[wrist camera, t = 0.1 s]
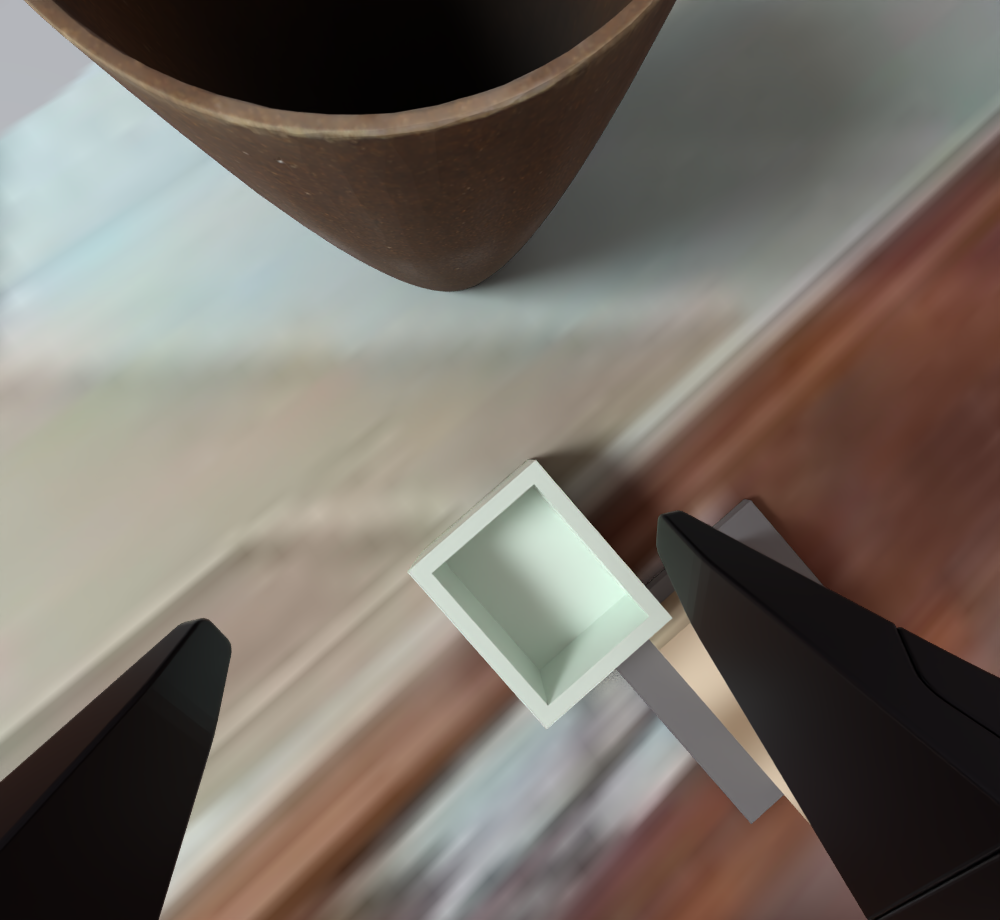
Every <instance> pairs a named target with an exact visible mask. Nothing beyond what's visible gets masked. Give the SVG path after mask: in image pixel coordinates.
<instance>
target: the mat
mask: <svg viewBox="0 0 1000 920" xmlns="http://www.w3.org/2000/svg"><path fill="white" fill-rule="evenodd" d="M713 528H715V529H717V530H719V531H721V532H723V533H725V534H726V535H728V536H730V537H732V538H734V539H736V540H738V541H740V542H741V543H743V544H745V545H747V546H749V547H751V548H753V549H755V550H757V551H758V552H760V553H762V554H764V555H766V556H768V557H770V558H772V559H773V560H775V561H777V562H779V563H781V564H783V565H785V566H787V567H789V568H790V569H792V570H794V571H796V572H798V573H800V574H802V575H804V576H805V577H807V578H809V579H811V580H813V581H815V582H817V583H819V584H820V585H822V583H821V582H820V581H819V580H818V579H817V578H816V576H815V575H814V574H813V573H812V572H811V570H810V569H809V568H808V567H807V566H806V565H805V563H804V562H803V561H802V560H801V559H800V558H799V556H798V555H797V554H796V553H795V552H794V551H793V549H792V548H791V547H790V546H789V545H788V543H787V542H786V541H785V540H784V539H783V538H782V536H781V535H780V534H779V533H778V532H777V531H776V529H775V528H774V527H773V526H772V525H771V524H770V522H769V521H768V520H767V519H766V518H765V516H764V515H763V514H762V513H761V512H760V511H759V509H758V508H757V507H756V506H755V505H754V504H753V502H752V501H751V500H746V499H744V500H743V501H741V502H740V503H739V504H738V505H737V506H736V507H735V508H734V509H732V510H731V511H730V512H729V513H728V514H727V515H726V516H724V517H723V518H722V519H721V520H720V521H719V522H718V523H717V524H715V525H714V526H713ZM822 586H823V585H822ZM645 587H646V588H647V589H648V590H649V591H650V593H651V594H652V595H653V596H654V597H655V598H656V599H657V601H658V602H659V603H661V602H663V601H664V600H665V599H666V598H667V597H668V596H669V595H671V594H672V593H673V592H674V591H675V589H674V586H673V584H672V582H671V580H670V578H669V576H668V573H667V571H666V569H664V570H663V571H662V572H661V573H660V574H659V575H658V576H656V577H655V578H654V579H653V580H652V581H651V582H650V583H648V584H647V585H646V586H645ZM616 669H617V671H618V672H619V673H620V674H621V675H622V676H623V677H624V679H625V680H626V681H627V682H628V683H629V684H630V685H631V687H632V688H633V689H634V690H635V691H636V692H637V693H638V695H639V696H640V697H641V698H642V699H643V700H644V702H645V703H646V704H647V705H648V706H649V707H650V708H651V710H652V711H653V712H654V713H655V714H656V715H657V716H658V718H659V719H660V720H661V721H662V722H663V723H664V724H665V726H666V727H667V728H668V729H669V730H670V731H671V732H672V734H673V735H674V736H675V737H676V738H677V739H678V740H679V742H680V743H681V744H682V745H683V746H684V747H685V748H686V750H687V751H688V752H689V753H690V754H691V755H692V757H693V758H694V759H695V760H696V761H697V762H698V763H699V765H700V766H701V767H702V768H703V769H704V770H705V771H706V773H707V774H708V775H709V776H710V777H711V778H712V779H713V781H714V782H715V783H716V784H717V785H718V786H719V787H720V789H721V790H722V791H723V792H724V793H725V794H726V795H727V797H728V798H729V799H730V800H731V801H732V802H733V803H734V805H735V806H736V807H737V808H738V809H739V810H740V812H741V813H742V814H743V815H744V816H745V817H746V818H747V820H748V821H749V822H750V823H751V824H752V823H753V822H754V821H755V820H756V819H757V818H758V817H760V816H761V815H762V814H763V813H764V812H765V811H766V810H767V809H769V808H770V807H771V806H772V805H773V804H774V803H775V802H776V801H777V800H779V799H780V798H781V797H782V796H783V795H784V794H783V793H782V792H781V790H780V789H779V788H778V787H777V786H776V785H775V784H774V782H773V781H772V780H771V779H770V778H769V777H768V776H767V774H766V773H765V772H764V771H763V770H762V769H761V768H760V766H759V765H758V764H757V763H756V762H755V761H754V759H753V758H752V757H751V756H750V755H749V754H748V753H747V751H746V750H745V749H744V748H743V747H742V746H741V744H740V743H739V742H738V741H737V740H736V739H735V738H734V736H733V735H732V734H731V733H730V732H729V731H728V730H727V728H726V727H725V726H724V725H723V724H722V723H721V721H720V720H719V719H718V718H717V717H716V716H715V715H714V713H713V712H712V711H711V710H710V709H709V708H708V706H707V705H706V704H705V703H704V702H703V701H702V700H701V698H700V697H699V696H698V695H697V694H696V693H695V691H694V690H693V689H692V688H691V687H690V686H689V685H688V683H687V682H686V681H685V680H684V679H683V678H682V677H681V675H680V674H679V673H678V672H677V671H676V670H675V668H674V667H673V666H672V665H671V664H670V663H669V662H668V660H667V659H666V658H665V657H664V656H663V655H662V653H661V652H660V651H659V650H658V649H657V648H656V647H655V645H654V644H653V643H652V642H651V641H650V640H649V639H648V640H647V641H646V642H645V643H644V644H643V645H642V646H640V647H639V648H638V649H637V650H636V651H635V652H634V653H633V654H631V655H630V656H629V657H628V658H627V659H626V660H625V661H623V662H622V663H621V664H620V665H619V666H618V667H617V668H616Z"/></svg>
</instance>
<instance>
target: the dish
mask: <svg viewBox="0 0 1000 920" xmlns="http://www.w3.org/2000/svg"><path fill="white" fill-rule="evenodd" d="M408 573H409V574H410V575H411V577H412V578H413V579H414V580H415V581H416V582H417V583H418V584H419V586H420V587H421V588H422V589H423V590H424V591H425V592H426V594H427V595H428V596H429V597H430V598H431V599H432V600H433V601H434V603H435V604H436V605H437V606H438V607H439V608H440V609H441V611H442V612H443V613H444V614H445V615H446V616H447V617H448V618H449V620H450V621H451V622H452V623H453V624H454V625H455V626H456V628H457V629H458V630H459V631H460V632H461V633H462V634H463V635H464V637H465V638H466V639H467V640H468V641H469V642H470V643H471V645H472V646H473V647H474V648H475V649H476V650H477V651H478V652H479V654H480V655H481V656H482V657H483V658H484V659H485V660H486V662H487V663H488V664H489V665H490V666H491V667H492V668H493V669H494V671H495V672H496V673H497V674H498V675H499V676H500V677H501V679H502V680H503V681H504V682H505V683H506V684H507V685H508V686H509V688H510V689H511V690H512V691H513V692H514V693H515V694H516V696H517V697H518V698H519V699H520V700H521V701H522V702H523V703H524V705H525V706H526V707H527V708H528V709H529V710H530V711H531V713H532V714H533V715H534V716H535V717H536V718H537V719H538V720H539V722H540V723H541V724H542V725H543V726H544V727H545V728H546V730H547V729H548V728H549V727H550V726H551V725H552V724H553V723H554V722H556V721H557V720H558V719H559V718H560V717H561V716H562V715H564V714H565V713H566V712H567V711H568V710H569V709H570V708H571V707H573V706H574V705H575V704H576V703H577V702H578V701H579V700H581V699H582V698H583V697H584V696H585V695H586V694H587V693H588V692H590V691H591V690H592V689H593V688H594V687H595V686H596V685H597V684H599V683H600V682H601V681H602V680H603V679H604V678H605V677H607V676H608V675H609V674H610V673H611V672H612V671H613V670H614V669H616V668H617V667H618V666H619V665H620V664H621V663H622V662H623V661H625V660H626V659H627V658H628V657H629V656H630V655H631V654H633V653H634V652H635V651H636V650H637V649H638V648H639V647H640V646H642V645H643V644H644V643H645V642H646V641H647V640H648V639H649V638H651V637H652V636H653V635H654V634H655V633H656V632H657V631H659V630H660V629H661V628H662V627H663V626H664V625H665V624H666V623H668V622H669V621H670V620H671V619H672V617H671V616H670V614H669V613H668V612H667V611H666V610H665V609H664V608H663V606H662V605H661V604H660V603H659V602H658V601H657V599H656V598H655V597H654V596H653V595H652V594H651V593H650V591H649V590H648V589H647V588H646V587H645V586H644V584H643V583H642V582H641V581H640V580H639V579H638V577H637V576H636V575H635V574H634V573H633V572H632V571H631V569H630V568H629V567H628V566H627V565H626V564H625V562H624V561H623V560H622V559H621V558H620V557H619V556H618V554H617V553H616V552H615V551H614V550H613V549H612V547H611V546H610V545H609V544H608V543H607V542H606V541H605V539H604V538H603V537H602V536H601V535H600V534H599V532H598V531H597V530H596V529H595V528H594V527H593V525H592V524H591V523H590V522H589V521H588V520H587V519H586V517H585V516H584V515H583V514H582V513H581V512H580V510H579V509H578V508H577V507H576V506H575V505H574V504H573V502H572V501H571V500H570V499H569V498H568V497H567V495H566V494H565V493H564V492H563V491H562V490H561V488H560V487H559V486H558V485H557V484H556V483H555V482H554V480H553V479H552V478H551V477H550V476H549V475H548V473H547V472H546V471H545V470H544V469H543V468H542V467H541V465H540V464H539V463H538V462H537V461H536V460H527V461H526V462H524V463H523V464H522V465H521V466H520V467H519V468H517V469H516V470H515V471H514V472H513V473H512V474H511V475H509V476H508V477H507V478H506V479H505V480H504V481H503V482H501V483H500V484H499V485H498V486H497V487H496V488H494V489H493V490H492V491H491V492H490V493H489V494H488V495H486V496H485V497H484V498H483V499H482V500H481V501H480V502H478V503H477V504H476V505H475V506H474V507H473V508H471V509H470V510H469V511H468V512H467V513H466V514H465V515H463V516H462V517H461V518H460V519H459V520H458V521H457V522H455V523H454V524H453V525H452V526H451V527H450V528H449V529H447V530H446V531H445V532H444V533H443V534H442V535H440V536H439V537H438V538H437V539H436V540H435V541H434V542H432V543H431V544H430V545H429V546H428V547H427V548H426V549H424V550H423V551H422V552H421V554H420V555H419V556H418V558H417V559H416V561H415V562H414V563H413V565H412V566H411V568H410V569H409V570H408Z"/></svg>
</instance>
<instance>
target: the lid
mask: <svg viewBox="0 0 1000 920" xmlns="http://www.w3.org/2000/svg"><path fill="white" fill-rule="evenodd" d="M660 604H661V605H662V606H663V608H664V609H665V610H666V611H667V612H668V613H669V614H670V616H671V617H672V619H671V620H670V621H669V622H668V623H666V624H665V625H664V626H663V627H662V628H661V629H660V630H659V631H657V632H656V633H655V634H654V635H653V636H652V637H651V638H649V640H650V641H651V642H652V643H653V644H654V645H655V647H656V648H657V649H658V650H659V651H660V652H661V653H662V655H663V656H664V657H665V658H666V659H667V660H668V662H669V663H670V664H671V665H672V666H673V667H674V668H675V670H676V671H677V672H678V673H679V674H680V675H681V677H682V678H683V679H684V680H685V681H686V682H687V683H688V685H689V686H690V687H691V688H692V689H693V690H694V691H695V693H696V694H697V695H698V696H699V697H700V698H701V700H702V701H703V702H704V703H705V704H706V705H707V706H708V708H709V709H710V710H711V711H712V712H713V713H714V715H715V716H716V717H717V718H718V719H719V720H720V721H721V723H722V724H723V725H724V726H725V727H726V728H727V730H728V731H729V732H730V733H731V734H732V735H733V736H734V738H735V739H736V740H737V741H738V742H739V743H740V744H741V746H742V747H743V748H744V749H745V750H746V751H747V753H748V754H749V755H750V756H751V757H752V758H753V759H754V761H755V762H756V763H757V764H758V765H759V766H760V768H761V769H762V770H763V771H764V772H765V773H766V774H767V776H768V777H769V778H770V779H771V780H772V781H773V782H774V784H775V785H776V786H777V787H778V788H779V789H780V790H781V792H782V793H783V794H784V795H785V796H786V797H787V798H788V800H789V801H790V802H791V803H792V804H793V805H794V807H795V808H796V809H797V810H798V811H799V812H800V813H801V815H802V816H803V817H804V818H805V819H806V820H807V821H808V819H807V818H806V816H805V814H804V813H803V811H802V809H801V808H800V806H799V804H798V803H797V801H796V799H795V798H794V796H793V794H792V793H791V791H790V789H789V788H788V786H787V784H786V783H785V781H784V779H783V778H782V776H781V774H780V773H779V771H778V769H777V768H776V766H775V764H774V763H773V761H772V759H771V758H770V756H769V754H768V753H767V751H766V749H765V748H764V746H763V744H762V743H761V741H760V739H759V738H758V736H757V734H756V733H755V731H754V729H753V728H752V726H751V724H750V722H749V721H748V719H747V717H746V716H745V714H744V712H743V711H742V709H741V707H740V706H739V704H738V702H737V701H736V699H735V697H734V696H733V694H732V692H731V691H730V689H729V687H728V686H727V684H726V682H725V681H724V679H723V677H722V676H721V674H720V672H719V671H718V669H717V667H716V666H715V664H714V662H713V661H712V659H711V657H710V656H709V654H708V652H707V651H706V649H705V647H704V646H703V644H702V642H701V641H700V639H699V637H698V635H697V634H696V632H695V630H694V628H693V627H692V625H691V623H690V621H689V619H688V617H687V615H686V612H685V610H684V608H683V606H682V604H681V602H680V599H679V597H678V595H677V593H676V591H674V592H673V593H672V594H671V595H669V596H668V597H667V598H666V599H665V600H664V601H663V602H661V603H660ZM808 823H809V821H808ZM809 824H810V823H809ZM810 825H811V824H810Z"/></svg>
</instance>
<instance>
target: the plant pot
mask: <svg viewBox="0 0 1000 920" xmlns="http://www.w3.org/2000/svg"><path fill="white" fill-rule="evenodd" d="M24 1H25V2H26V3H27V4H29V6H30V7H31V8H33V9H34V10H35V11H36V12H37V13H38V14H39V15H40V16H41V17H42V18H43V19H44V20H46V21H47V22H48V23H49V24H50V25H52V27H54V28H55V29H56V30H57V31H58V32H59V33H60V34H62V35H63V36H64V37H65V38H66V39H67V40H69V41H70V42H71V43H72V44H73V45H75V46H76V47H77V48H78V49H79V50H81V51H82V52H83V53H84V54H85V55H87V56H88V57H89V58H90V59H91V60H93V61H94V62H95V63H96V64H97V65H99V66H100V67H101V68H102V69H103V70H105V71H106V72H107V73H108V74H109V75H110V76H112V77H113V78H114V79H115V80H116V81H118V82H119V83H120V84H121V85H122V86H124V87H125V88H126V89H127V90H128V91H130V92H131V93H132V94H133V95H135V96H136V97H137V98H138V99H140V100H141V101H142V102H143V103H144V104H146V105H147V106H148V107H149V108H151V109H152V110H153V111H154V112H156V113H157V114H158V115H159V116H160V117H162V118H163V119H164V120H165V121H167V122H168V123H169V124H170V125H172V126H173V127H174V128H175V129H176V130H178V131H179V132H180V133H181V134H183V135H184V136H185V137H187V138H188V139H189V140H190V141H192V142H193V143H194V144H195V145H197V146H198V147H199V148H200V149H202V150H203V151H204V152H205V153H207V154H208V155H209V156H210V157H212V158H213V159H214V160H216V161H217V162H218V163H219V164H221V165H222V166H223V167H224V168H226V169H227V170H228V171H230V172H231V173H232V174H233V175H235V176H236V177H237V178H239V179H240V180H241V181H243V182H244V183H245V184H246V185H248V186H249V187H250V188H252V189H253V190H254V191H255V192H257V193H258V194H259V195H261V196H262V197H264V198H265V199H267V200H268V201H269V202H271V203H272V204H274V205H275V206H276V207H278V208H279V209H281V210H282V211H284V212H285V213H286V214H288V215H289V216H291V217H292V218H294V219H295V220H296V221H298V222H299V223H301V224H302V225H303V226H305V227H307V228H308V229H310V230H311V231H313V232H314V233H316V234H317V235H319V236H320V237H322V238H323V239H325V240H326V241H328V242H330V243H331V244H333V245H334V246H336V247H337V248H339V249H341V250H343V251H344V252H346V253H348V254H349V255H351V256H353V257H355V258H356V259H358V260H360V261H362V262H363V263H365V264H367V265H369V266H371V267H373V268H375V269H377V270H379V271H381V272H383V273H385V274H387V275H389V276H392V277H394V278H396V279H399V280H401V281H404V282H406V283H409V284H412V285H415V286H419V287H422V288H426V289H430V290H436V291H445V292H450V291H459V290H464V289H467V288H470V287H473V286H475V285H477V284H479V283H481V282H482V281H484V280H485V279H487V278H488V277H490V276H491V275H493V274H494V273H495V272H497V271H498V270H499V269H500V268H501V267H503V266H504V265H505V264H506V263H507V262H508V261H509V260H510V259H511V258H512V257H513V256H514V255H515V254H516V253H517V252H518V251H519V250H520V249H521V248H522V247H523V246H524V245H525V243H526V242H527V241H528V240H529V239H530V238H531V236H532V235H533V234H534V233H535V231H536V230H537V229H538V228H539V227H540V225H541V224H542V223H543V221H544V220H545V219H546V217H547V216H548V215H549V213H550V212H551V211H552V209H553V208H554V206H555V205H556V204H557V202H558V201H559V199H560V198H561V196H562V195H563V194H564V192H565V191H566V189H567V188H568V186H569V185H570V183H571V182H572V180H573V179H574V177H575V176H576V174H577V173H578V171H579V170H580V168H581V167H582V165H583V164H584V162H585V161H586V159H587V157H588V156H589V154H590V152H591V151H592V149H593V148H594V146H595V144H596V143H597V141H598V140H599V138H600V136H601V135H602V133H603V131H604V130H605V128H606V126H607V125H608V123H609V121H610V119H611V118H612V116H613V114H614V113H615V111H616V109H617V107H618V106H619V104H620V102H621V101H622V99H623V97H624V95H625V94H626V92H627V90H628V88H629V87H630V85H631V83H632V81H633V79H634V77H635V76H636V74H637V72H638V70H639V68H640V66H641V65H642V63H643V61H644V59H645V57H646V55H647V54H648V52H649V50H650V48H651V46H652V44H653V42H654V41H655V39H656V37H657V35H658V33H659V31H660V29H661V28H662V26H663V24H664V22H665V20H666V18H667V17H668V15H669V13H670V11H671V9H672V7H673V5H674V4H675V2H676V0H24Z"/></svg>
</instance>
